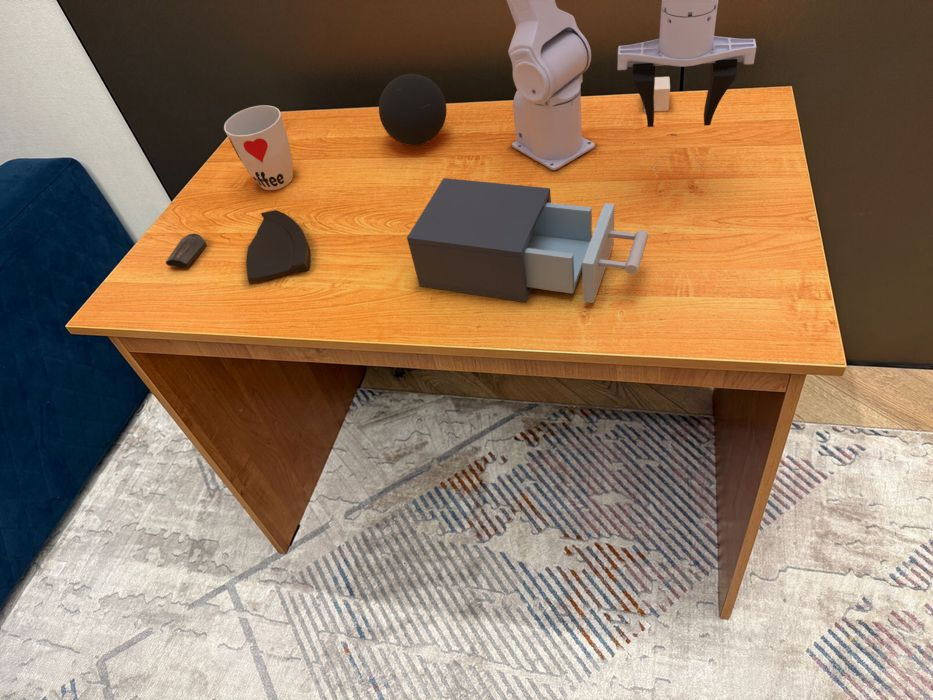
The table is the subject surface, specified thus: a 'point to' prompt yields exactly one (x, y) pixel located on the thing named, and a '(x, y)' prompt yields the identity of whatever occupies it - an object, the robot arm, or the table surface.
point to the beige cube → (661, 93)
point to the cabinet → (477, 237)
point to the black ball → (412, 109)
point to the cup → (262, 145)
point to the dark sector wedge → (277, 248)
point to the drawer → (576, 249)
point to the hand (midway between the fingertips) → (678, 121)
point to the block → (186, 251)
